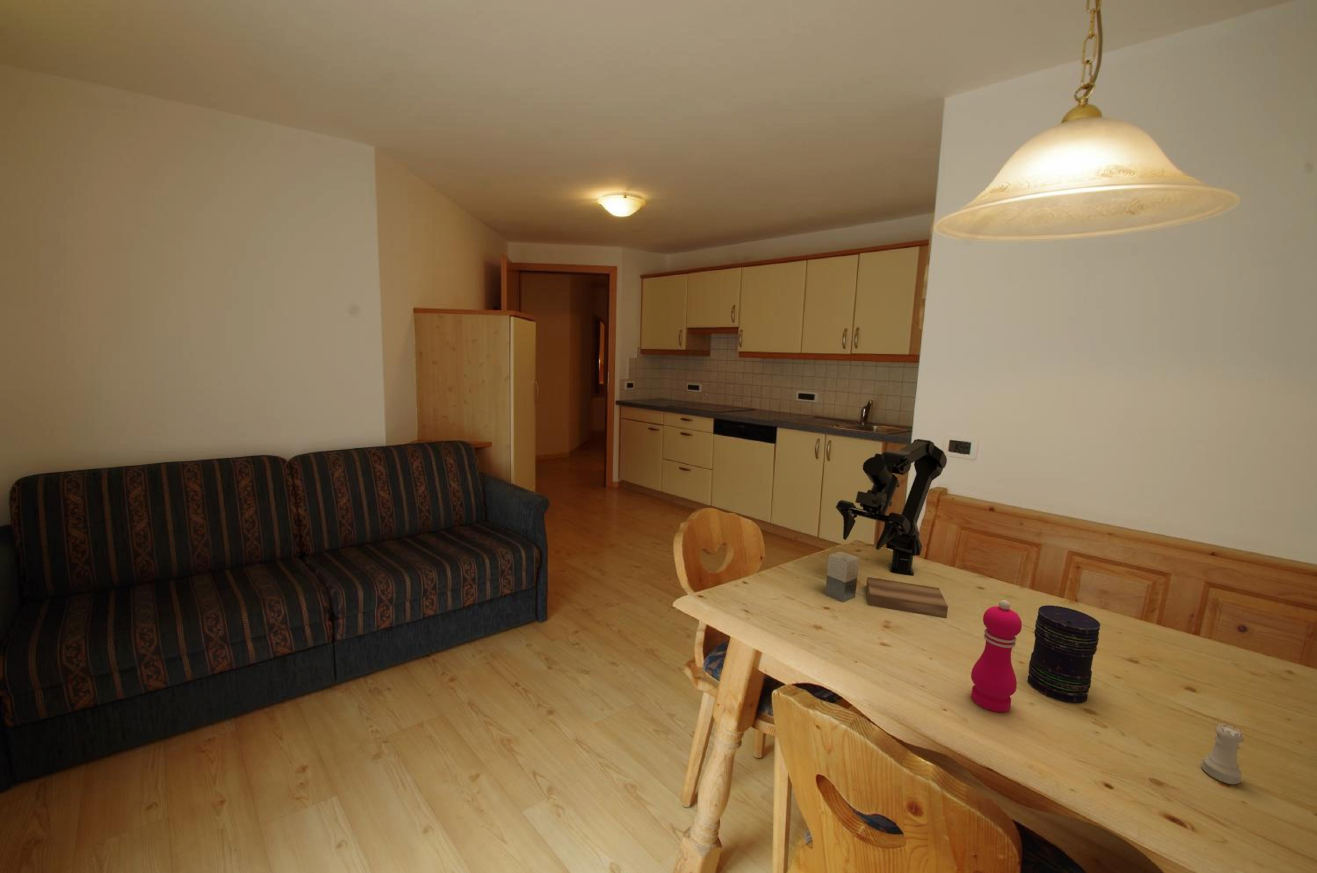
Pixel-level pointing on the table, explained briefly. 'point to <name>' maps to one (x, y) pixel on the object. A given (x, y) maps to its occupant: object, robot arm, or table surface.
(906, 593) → the stand
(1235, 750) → the rook chess piece
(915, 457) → the robot arm
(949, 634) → the table surface
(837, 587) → the block
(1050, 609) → the dark ridged cylinder
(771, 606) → the table surface
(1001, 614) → the pepper mill
